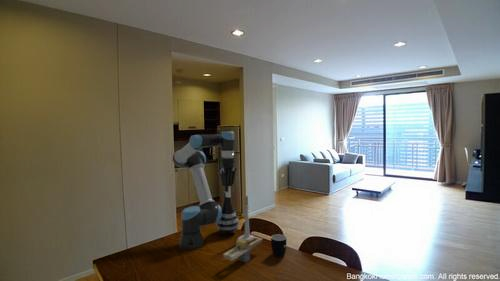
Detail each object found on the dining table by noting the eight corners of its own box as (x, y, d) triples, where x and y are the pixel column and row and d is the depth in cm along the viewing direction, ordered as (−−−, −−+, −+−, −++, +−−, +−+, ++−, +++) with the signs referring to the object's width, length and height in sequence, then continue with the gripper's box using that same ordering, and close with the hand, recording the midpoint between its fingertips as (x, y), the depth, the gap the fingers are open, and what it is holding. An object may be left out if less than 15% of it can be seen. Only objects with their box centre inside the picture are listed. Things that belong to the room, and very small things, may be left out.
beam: (223, 268, 135) (222, 253, 135) (254, 249, 158) (254, 236, 158) (231, 272, 132) (231, 257, 131) (262, 251, 154) (262, 238, 154)
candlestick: (256, 244, 165) (256, 197, 164) (236, 244, 165) (236, 197, 164) (256, 236, 178) (256, 192, 177) (238, 236, 178) (237, 193, 177)
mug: (285, 259, 145) (285, 241, 145) (269, 257, 147) (269, 239, 147) (288, 249, 156) (287, 233, 156) (273, 248, 159) (273, 231, 158)
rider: (236, 249, 144) (236, 240, 143) (242, 246, 148) (241, 237, 147) (244, 252, 140) (244, 243, 140) (249, 248, 144) (249, 240, 144)
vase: (243, 232, 185) (242, 191, 184) (226, 239, 173) (226, 195, 172) (228, 227, 196) (227, 188, 195) (211, 233, 184) (211, 192, 183)
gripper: (224, 158, 145) (225, 200, 146) (239, 156, 156) (240, 195, 157) (215, 158, 150) (215, 198, 151) (230, 156, 160) (230, 193, 161)
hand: (228, 196), depth 154 cm, fingers closed
